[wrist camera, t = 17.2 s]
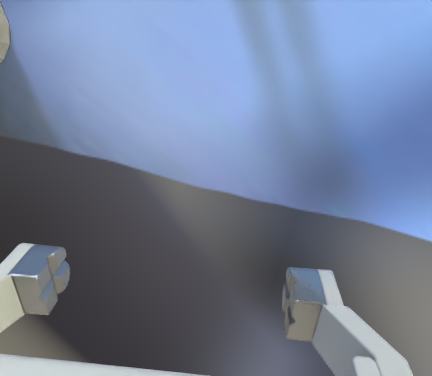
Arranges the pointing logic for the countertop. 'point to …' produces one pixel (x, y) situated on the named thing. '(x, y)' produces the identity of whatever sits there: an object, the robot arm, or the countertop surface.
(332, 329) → the robot arm
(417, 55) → the countertop surface
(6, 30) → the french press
